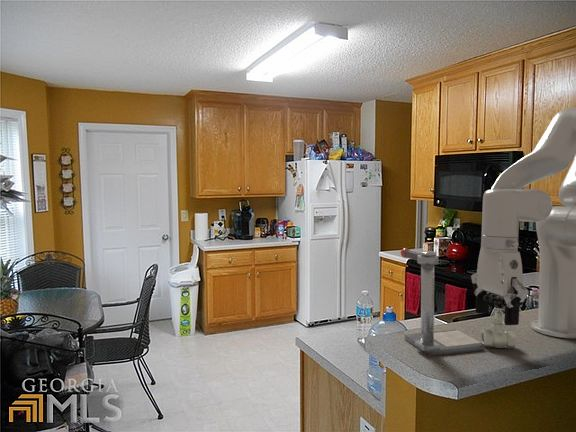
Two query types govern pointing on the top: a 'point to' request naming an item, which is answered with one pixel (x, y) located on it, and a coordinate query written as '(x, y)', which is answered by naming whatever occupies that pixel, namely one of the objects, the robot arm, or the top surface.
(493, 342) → the valve
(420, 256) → the lever
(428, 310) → the press
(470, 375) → the top surface
